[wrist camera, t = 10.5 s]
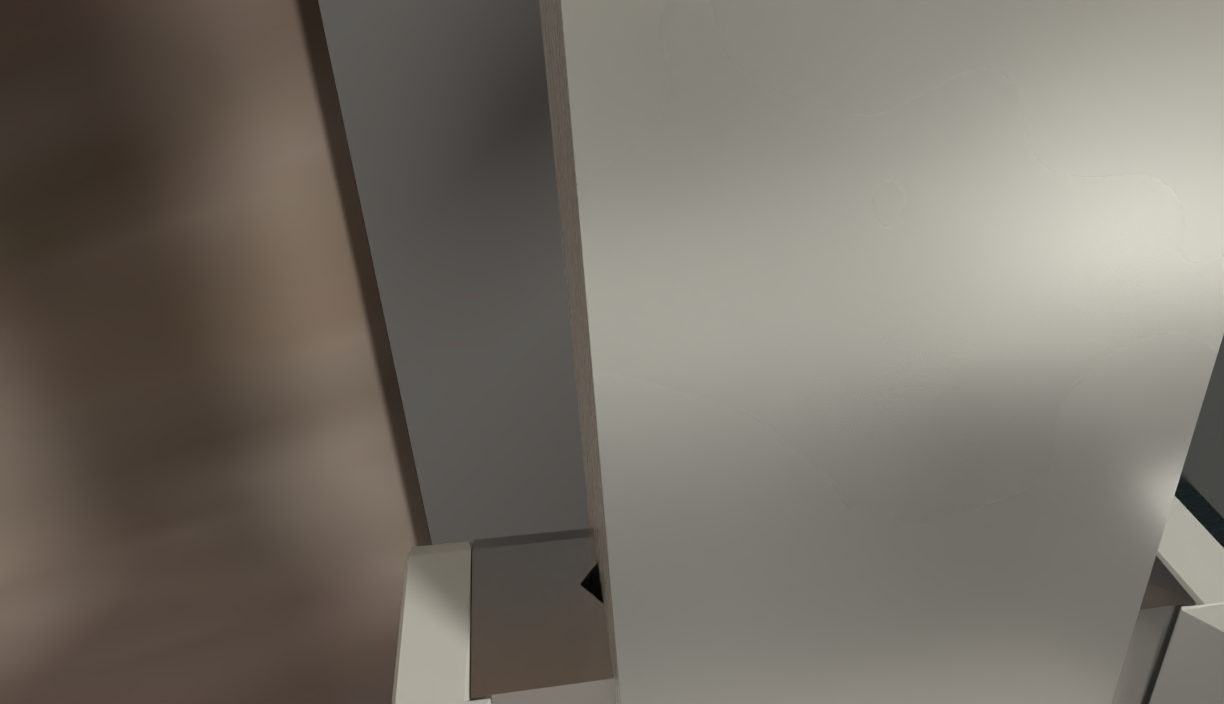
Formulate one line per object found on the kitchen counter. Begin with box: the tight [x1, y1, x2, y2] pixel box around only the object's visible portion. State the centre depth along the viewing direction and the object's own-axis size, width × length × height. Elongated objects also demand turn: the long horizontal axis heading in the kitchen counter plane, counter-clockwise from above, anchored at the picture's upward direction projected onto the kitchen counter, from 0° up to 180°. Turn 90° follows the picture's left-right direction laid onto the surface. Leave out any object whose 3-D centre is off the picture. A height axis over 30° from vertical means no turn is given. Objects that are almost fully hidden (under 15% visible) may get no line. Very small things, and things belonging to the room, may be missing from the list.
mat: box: [318, 0, 590, 545], centre depth 19 cm, size 10×30×1 cm, turn 4°
